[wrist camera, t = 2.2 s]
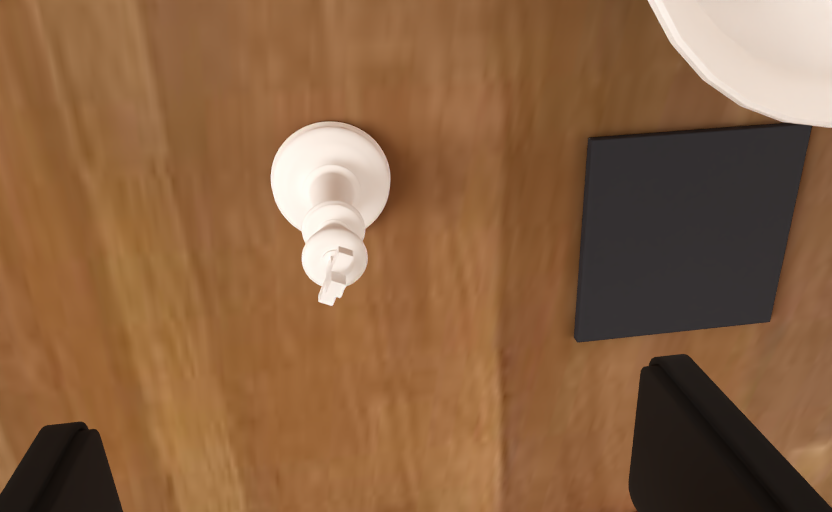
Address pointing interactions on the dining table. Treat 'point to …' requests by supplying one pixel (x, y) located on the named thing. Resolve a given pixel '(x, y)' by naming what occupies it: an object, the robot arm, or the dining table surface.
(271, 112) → the dining table surface
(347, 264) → the chess piece
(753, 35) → the bowl
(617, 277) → the coaster
